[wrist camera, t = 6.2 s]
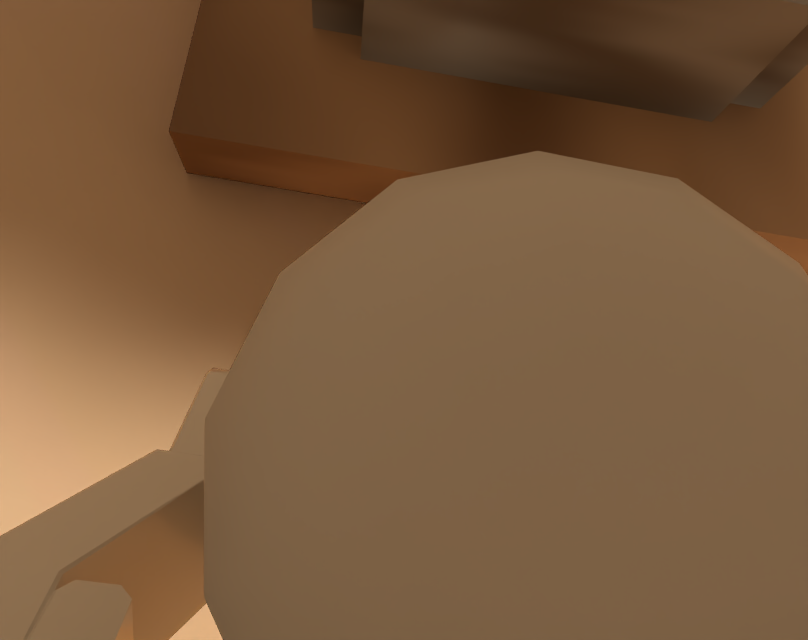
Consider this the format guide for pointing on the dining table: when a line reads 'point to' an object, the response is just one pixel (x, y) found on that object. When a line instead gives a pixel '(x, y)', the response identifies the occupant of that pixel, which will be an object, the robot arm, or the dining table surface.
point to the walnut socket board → (505, 95)
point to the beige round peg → (518, 421)
